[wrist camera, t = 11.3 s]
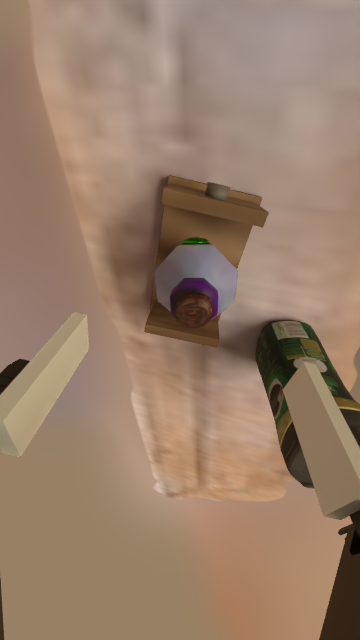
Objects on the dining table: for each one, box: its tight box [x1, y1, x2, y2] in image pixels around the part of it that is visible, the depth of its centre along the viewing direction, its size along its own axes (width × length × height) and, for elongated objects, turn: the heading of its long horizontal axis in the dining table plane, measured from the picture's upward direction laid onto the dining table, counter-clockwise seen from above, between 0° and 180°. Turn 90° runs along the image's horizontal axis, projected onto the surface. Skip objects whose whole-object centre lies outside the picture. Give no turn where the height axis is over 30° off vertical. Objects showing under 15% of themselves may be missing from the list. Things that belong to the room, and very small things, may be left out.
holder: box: [145, 175, 269, 347], centre depth 26 cm, size 17×10×7 cm, turn 169°
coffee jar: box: [256, 320, 360, 488], centre depth 28 cm, size 10×8×19 cm
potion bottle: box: [154, 237, 238, 328], centre depth 23 cm, size 9×9×12 cm
